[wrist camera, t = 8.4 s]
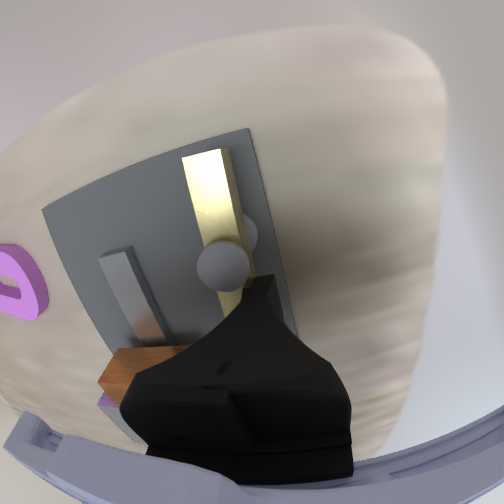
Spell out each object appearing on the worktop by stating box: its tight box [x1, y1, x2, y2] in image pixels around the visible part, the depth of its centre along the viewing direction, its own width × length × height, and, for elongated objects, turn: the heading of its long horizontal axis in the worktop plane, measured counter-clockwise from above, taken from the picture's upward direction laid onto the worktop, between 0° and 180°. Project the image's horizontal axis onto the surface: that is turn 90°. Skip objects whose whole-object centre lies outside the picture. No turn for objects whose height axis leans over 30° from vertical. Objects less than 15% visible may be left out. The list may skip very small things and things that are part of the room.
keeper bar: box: [182, 147, 256, 318], centre depth 10 cm, size 9×1×2 cm, turn 11°
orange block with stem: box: [98, 345, 191, 398], centre depth 13 cm, size 7×5×3 cm
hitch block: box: [97, 246, 178, 444], centre depth 13 cm, size 12×6×5 cm, turn 14°
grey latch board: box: [41, 128, 297, 355], centre depth 12 cm, size 16×12×4 cm
